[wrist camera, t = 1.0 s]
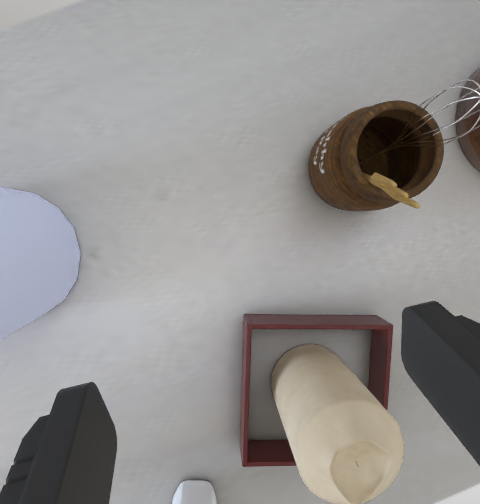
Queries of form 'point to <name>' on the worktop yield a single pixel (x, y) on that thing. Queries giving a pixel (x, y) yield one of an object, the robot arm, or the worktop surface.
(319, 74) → the worktop surface
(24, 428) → the worktop surface
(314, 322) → the dark red square frame
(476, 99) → the candle stand
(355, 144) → the utensil holder
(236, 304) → the worktop surface
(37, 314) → the soap bottle
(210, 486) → the eye dropper bottle
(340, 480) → the candle
